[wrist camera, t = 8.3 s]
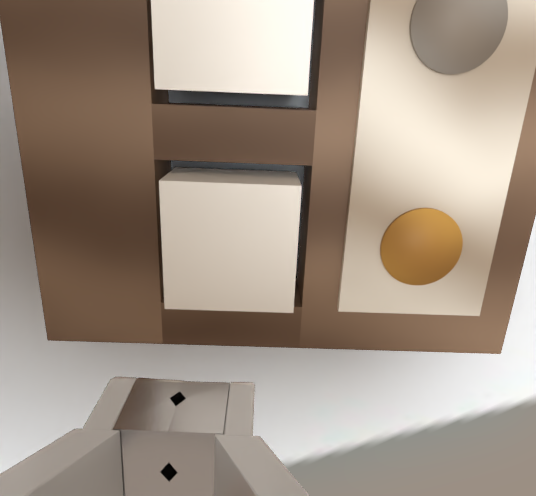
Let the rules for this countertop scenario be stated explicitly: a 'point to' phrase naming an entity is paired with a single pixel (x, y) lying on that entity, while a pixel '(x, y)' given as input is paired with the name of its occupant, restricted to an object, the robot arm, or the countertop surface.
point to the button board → (289, 153)
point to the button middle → (232, 45)
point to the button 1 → (229, 239)
